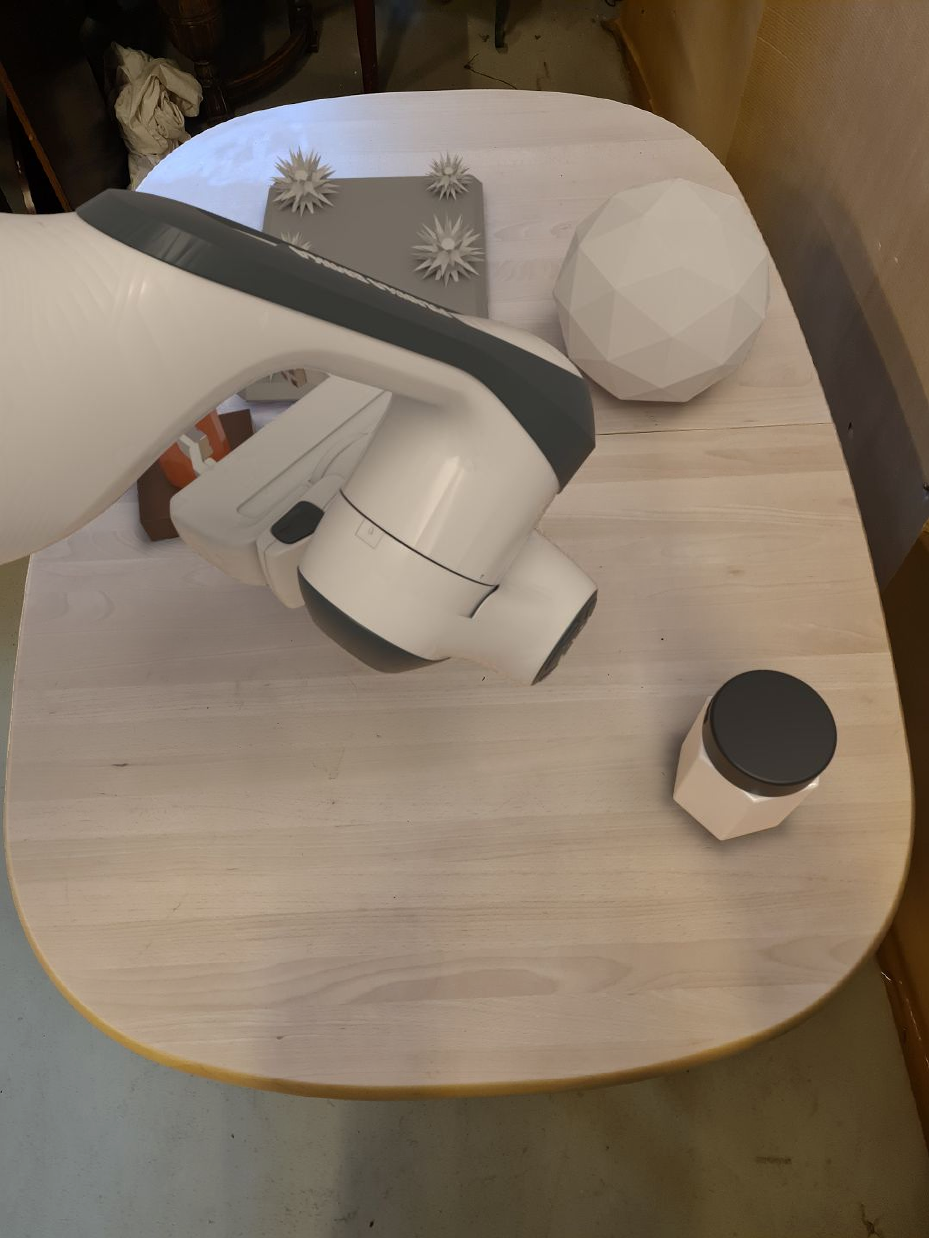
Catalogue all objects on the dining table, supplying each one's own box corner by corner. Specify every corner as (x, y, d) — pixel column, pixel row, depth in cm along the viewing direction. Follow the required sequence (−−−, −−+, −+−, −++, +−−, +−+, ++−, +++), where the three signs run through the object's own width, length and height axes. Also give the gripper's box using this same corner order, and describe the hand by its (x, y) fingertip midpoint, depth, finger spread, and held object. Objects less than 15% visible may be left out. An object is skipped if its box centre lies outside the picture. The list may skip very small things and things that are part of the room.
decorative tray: (490, 409, 85) (491, 330, 76) (231, 415, 85) (203, 337, 77) (482, 192, 102) (482, 107, 94) (267, 197, 103) (247, 114, 94)
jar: (760, 723, 68) (810, 654, 58) (804, 821, 64) (867, 765, 54) (653, 749, 67) (684, 684, 57) (692, 850, 63) (733, 800, 53)
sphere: (658, 388, 95) (792, 229, 84) (679, 479, 80) (847, 299, 69) (517, 293, 90) (640, 108, 79) (511, 370, 74) (663, 155, 63)
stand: (151, 542, 78) (140, 522, 75) (143, 452, 83) (132, 431, 81) (271, 516, 79) (264, 496, 76) (256, 429, 84) (249, 408, 82)
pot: (207, 499, 76) (172, 421, 68) (149, 475, 78) (107, 396, 69) (247, 449, 79) (218, 369, 71) (190, 427, 81) (155, 345, 72)
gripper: (482, 377, 57) (336, 286, 61) (250, 572, 49) (104, 451, 54) (481, 441, 62) (348, 353, 67) (272, 626, 55) (138, 512, 59)
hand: (237, 398), depth 60 cm, fingers open, 8 cm apart
